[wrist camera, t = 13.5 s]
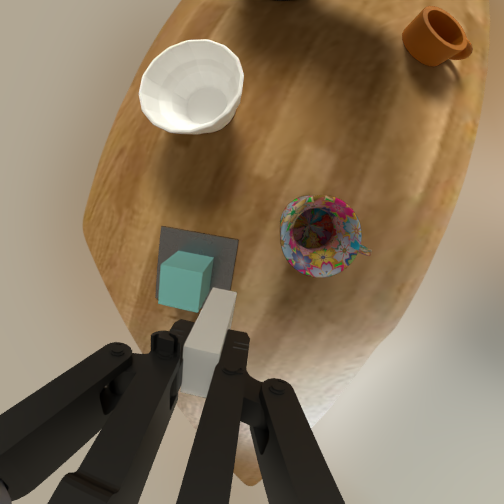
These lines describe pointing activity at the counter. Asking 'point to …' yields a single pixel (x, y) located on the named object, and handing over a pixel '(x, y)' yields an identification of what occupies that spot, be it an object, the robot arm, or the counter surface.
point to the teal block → (185, 280)
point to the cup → (192, 87)
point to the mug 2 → (436, 37)
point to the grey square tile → (200, 253)
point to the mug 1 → (320, 235)
